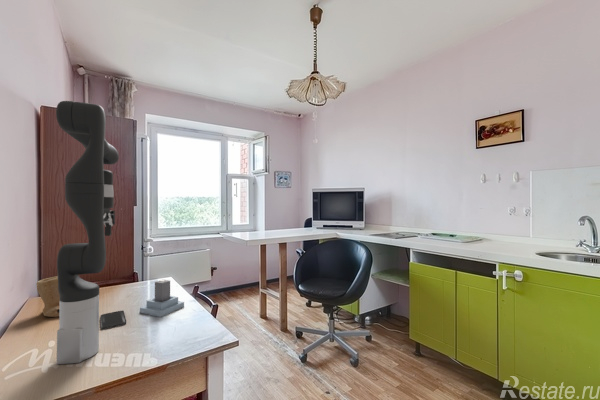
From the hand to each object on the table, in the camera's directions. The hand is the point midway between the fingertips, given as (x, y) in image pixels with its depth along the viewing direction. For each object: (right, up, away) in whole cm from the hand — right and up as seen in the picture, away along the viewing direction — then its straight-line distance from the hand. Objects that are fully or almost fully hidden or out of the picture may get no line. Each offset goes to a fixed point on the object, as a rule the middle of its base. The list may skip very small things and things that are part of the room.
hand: (101, 236), depth 108 cm
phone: (+6, -33, -3) cm, 33 cm away
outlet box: (+20, -32, +8) cm, 39 cm away
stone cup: (-23, -33, +5) cm, 40 cm away
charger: (+20, -30, +8) cm, 37 cm away
